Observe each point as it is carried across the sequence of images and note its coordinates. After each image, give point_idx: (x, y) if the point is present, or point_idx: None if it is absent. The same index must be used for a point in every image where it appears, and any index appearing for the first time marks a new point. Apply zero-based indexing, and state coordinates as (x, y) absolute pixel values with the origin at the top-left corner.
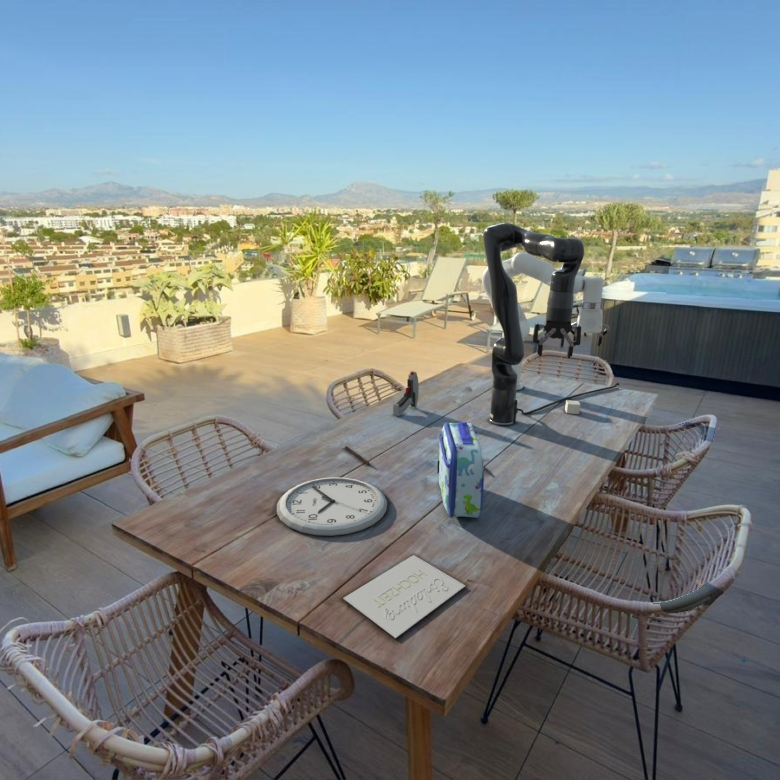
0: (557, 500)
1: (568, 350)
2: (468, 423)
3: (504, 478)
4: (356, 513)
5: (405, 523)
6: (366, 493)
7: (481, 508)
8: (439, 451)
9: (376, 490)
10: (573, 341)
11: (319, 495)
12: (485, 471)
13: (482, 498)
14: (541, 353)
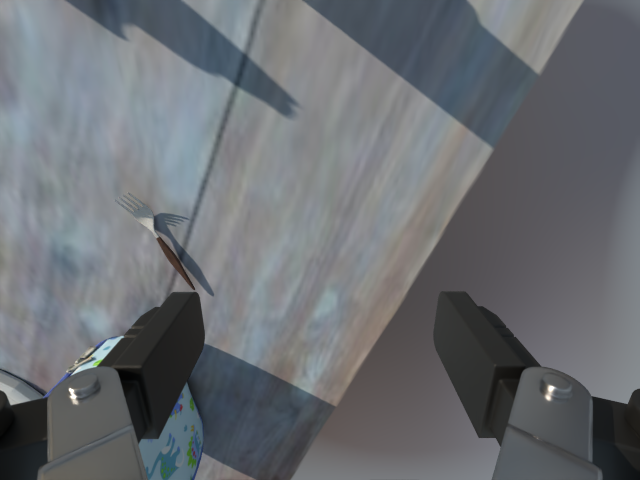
0: (328, 352)
1: (461, 400)
2: None
3: (232, 294)
4: None
5: None
6: (10, 404)
7: (199, 460)
8: None
9: (20, 401)
10: (602, 455)
11: None
12: (189, 284)
13: (194, 478)
14: (189, 366)
